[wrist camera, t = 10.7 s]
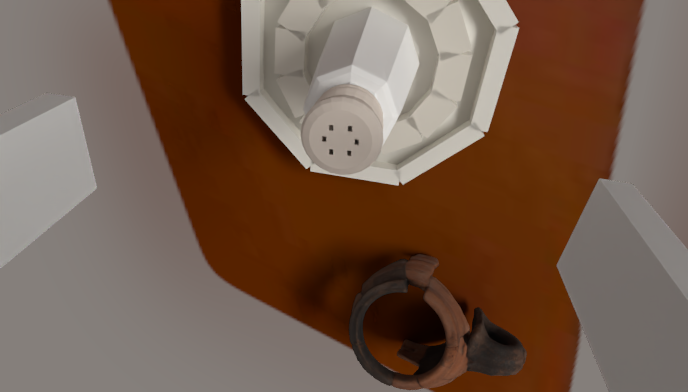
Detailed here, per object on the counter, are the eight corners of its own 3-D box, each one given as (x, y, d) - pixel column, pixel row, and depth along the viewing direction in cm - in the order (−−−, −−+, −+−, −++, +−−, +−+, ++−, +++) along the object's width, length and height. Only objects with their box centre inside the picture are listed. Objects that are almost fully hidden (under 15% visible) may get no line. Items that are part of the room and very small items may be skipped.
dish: (251, -109, 21) (237, -113, 20) (540, -74, 21) (551, -74, 19) (252, 148, 29) (242, 161, 27) (465, 182, 28) (468, 198, 26)
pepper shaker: (320, 104, 25) (266, 202, 16) (320, 3, 23) (254, 52, 13) (413, 110, 25) (413, 216, 16) (425, 8, 22) (434, 62, 13)
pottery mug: (371, 344, 38) (331, 387, 30) (381, 236, 37) (343, 253, 29) (520, 382, 33) (518, 445, 25) (535, 260, 32) (538, 287, 25)
